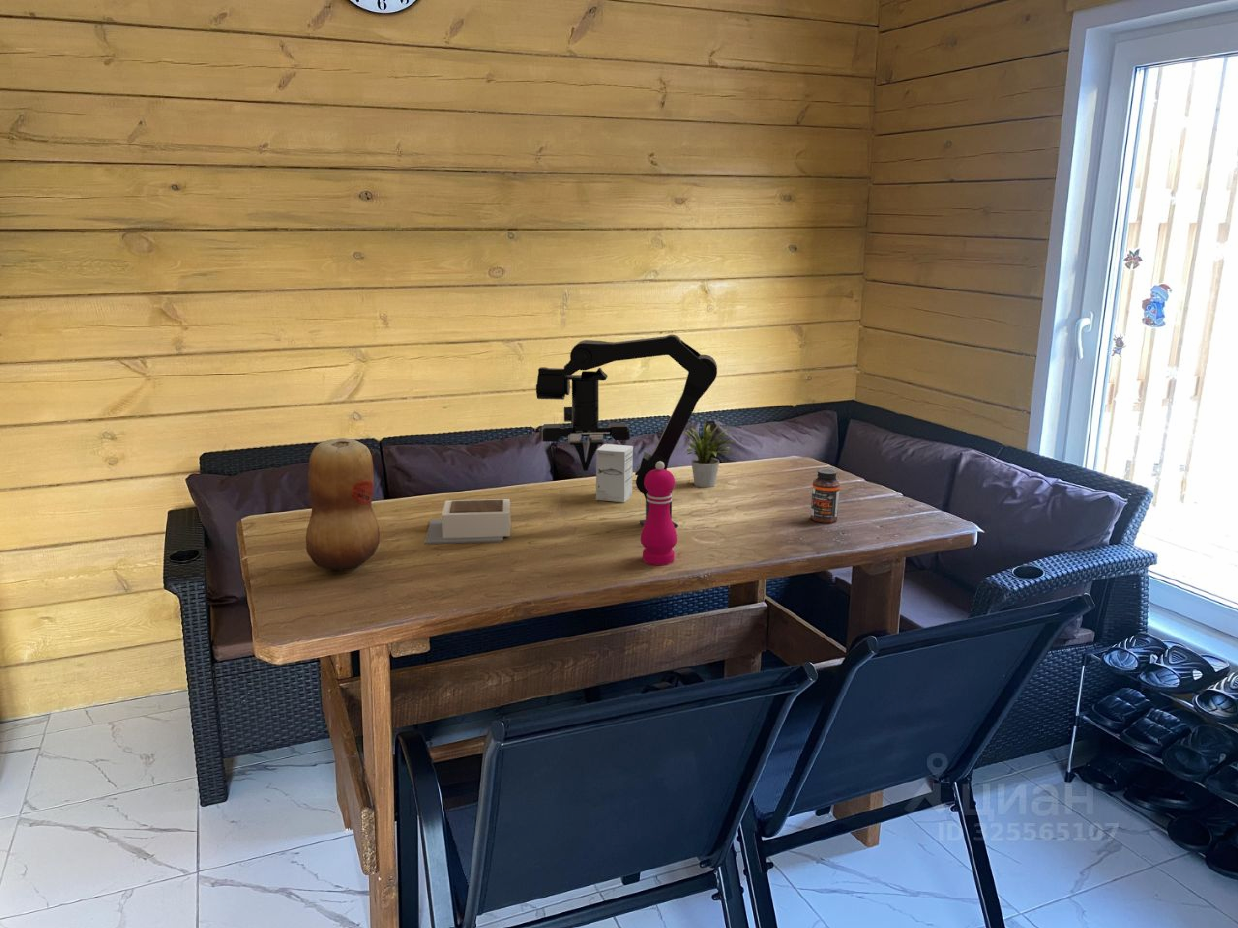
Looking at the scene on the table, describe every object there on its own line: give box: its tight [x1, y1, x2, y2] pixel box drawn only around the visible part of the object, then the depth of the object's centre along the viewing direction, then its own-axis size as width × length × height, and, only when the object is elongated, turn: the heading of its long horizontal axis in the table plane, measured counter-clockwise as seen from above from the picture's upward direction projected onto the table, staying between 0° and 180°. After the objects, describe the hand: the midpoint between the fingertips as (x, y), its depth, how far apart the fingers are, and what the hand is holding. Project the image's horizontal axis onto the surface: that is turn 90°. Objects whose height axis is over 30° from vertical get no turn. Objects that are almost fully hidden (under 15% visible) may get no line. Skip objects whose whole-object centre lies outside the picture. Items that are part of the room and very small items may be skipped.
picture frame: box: [441, 498, 511, 538], centre depth 206 cm, size 5×11×14 cm
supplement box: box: [595, 443, 634, 503], centre depth 230 cm, size 7×7×13 cm
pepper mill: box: [640, 461, 678, 566], centre depth 186 cm, size 7×7×20 cm
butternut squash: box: [305, 437, 381, 571], centre depth 181 cm, size 14×13×25 cm
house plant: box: [685, 421, 734, 488], centre depth 241 cm, size 14×14×16 cm
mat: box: [424, 518, 504, 545], centre depth 206 cm, size 16×16×1 cm
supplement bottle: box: [810, 468, 840, 524], centre depth 214 cm, size 6×6×11 cm
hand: (585, 470), depth 209 cm, fingers closed
